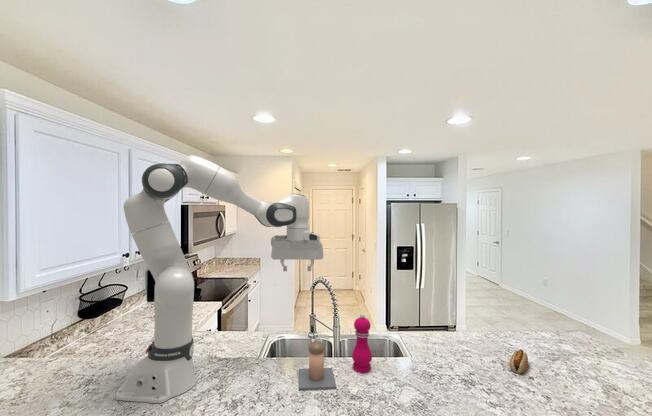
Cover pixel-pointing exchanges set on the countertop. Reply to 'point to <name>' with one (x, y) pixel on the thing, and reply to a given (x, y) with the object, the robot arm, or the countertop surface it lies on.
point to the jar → (316, 360)
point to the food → (519, 361)
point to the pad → (323, 384)
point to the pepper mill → (362, 346)
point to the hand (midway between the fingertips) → (297, 270)
